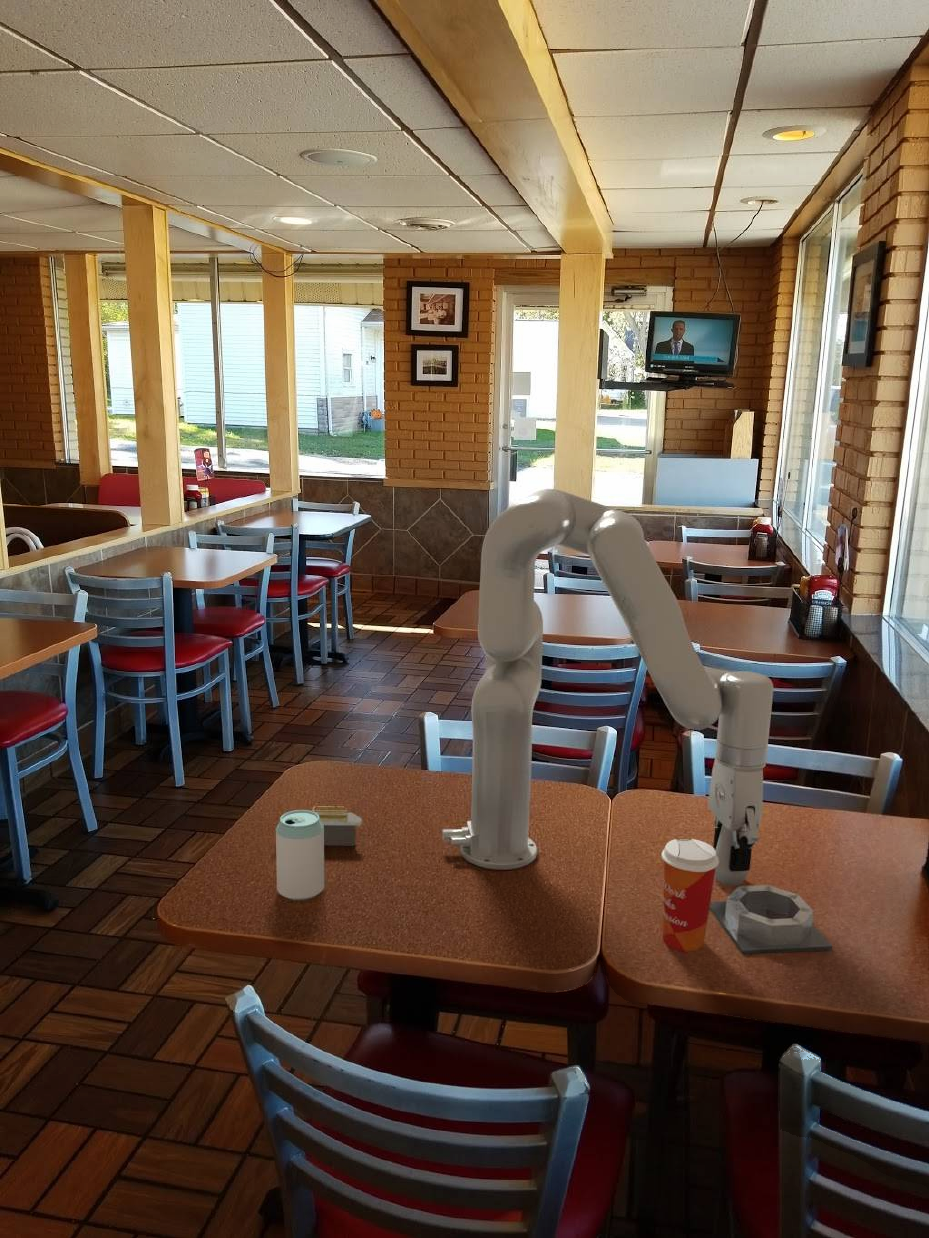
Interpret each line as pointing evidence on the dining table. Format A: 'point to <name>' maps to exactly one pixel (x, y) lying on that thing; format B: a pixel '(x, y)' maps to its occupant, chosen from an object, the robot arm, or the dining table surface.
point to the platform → (339, 826)
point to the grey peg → (727, 859)
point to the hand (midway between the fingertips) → (730, 859)
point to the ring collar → (768, 921)
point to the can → (300, 855)
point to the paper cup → (687, 892)
